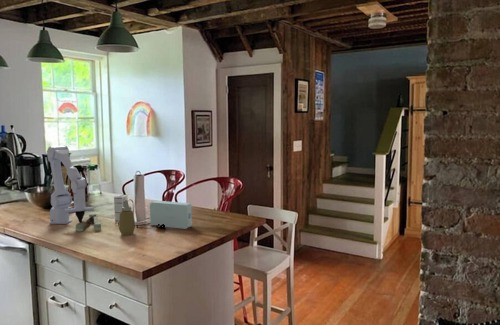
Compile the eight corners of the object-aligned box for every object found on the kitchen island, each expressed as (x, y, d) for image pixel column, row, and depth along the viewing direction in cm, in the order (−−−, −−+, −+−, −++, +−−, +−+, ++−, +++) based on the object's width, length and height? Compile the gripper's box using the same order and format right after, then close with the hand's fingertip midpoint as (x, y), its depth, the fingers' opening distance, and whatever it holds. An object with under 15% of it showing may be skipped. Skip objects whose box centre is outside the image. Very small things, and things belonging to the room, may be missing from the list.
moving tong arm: (85, 222, 229) (85, 216, 229) (91, 222, 229) (90, 216, 229) (76, 231, 211) (75, 225, 211) (82, 231, 212) (82, 224, 211)
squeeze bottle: (126, 237, 202) (125, 202, 200) (115, 234, 206) (114, 200, 204) (138, 233, 209) (137, 199, 207) (128, 231, 213) (126, 198, 211)
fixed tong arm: (89, 221, 233) (89, 214, 232) (99, 220, 235) (99, 213, 235) (89, 231, 212) (89, 224, 212) (101, 230, 214) (100, 222, 214)
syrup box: (123, 221, 233) (122, 196, 231) (114, 220, 234) (113, 196, 233) (128, 218, 239) (127, 194, 237) (119, 218, 240) (118, 194, 238)
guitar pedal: (149, 225, 224) (149, 202, 222) (155, 223, 229) (154, 200, 228) (186, 229, 217) (186, 205, 215) (191, 226, 222) (191, 203, 221)
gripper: (64, 202, 212) (65, 227, 214) (93, 200, 218) (95, 225, 219) (65, 200, 219) (66, 224, 220) (93, 198, 224) (94, 222, 226)
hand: (80, 224), depth 220 cm, fingers closed
